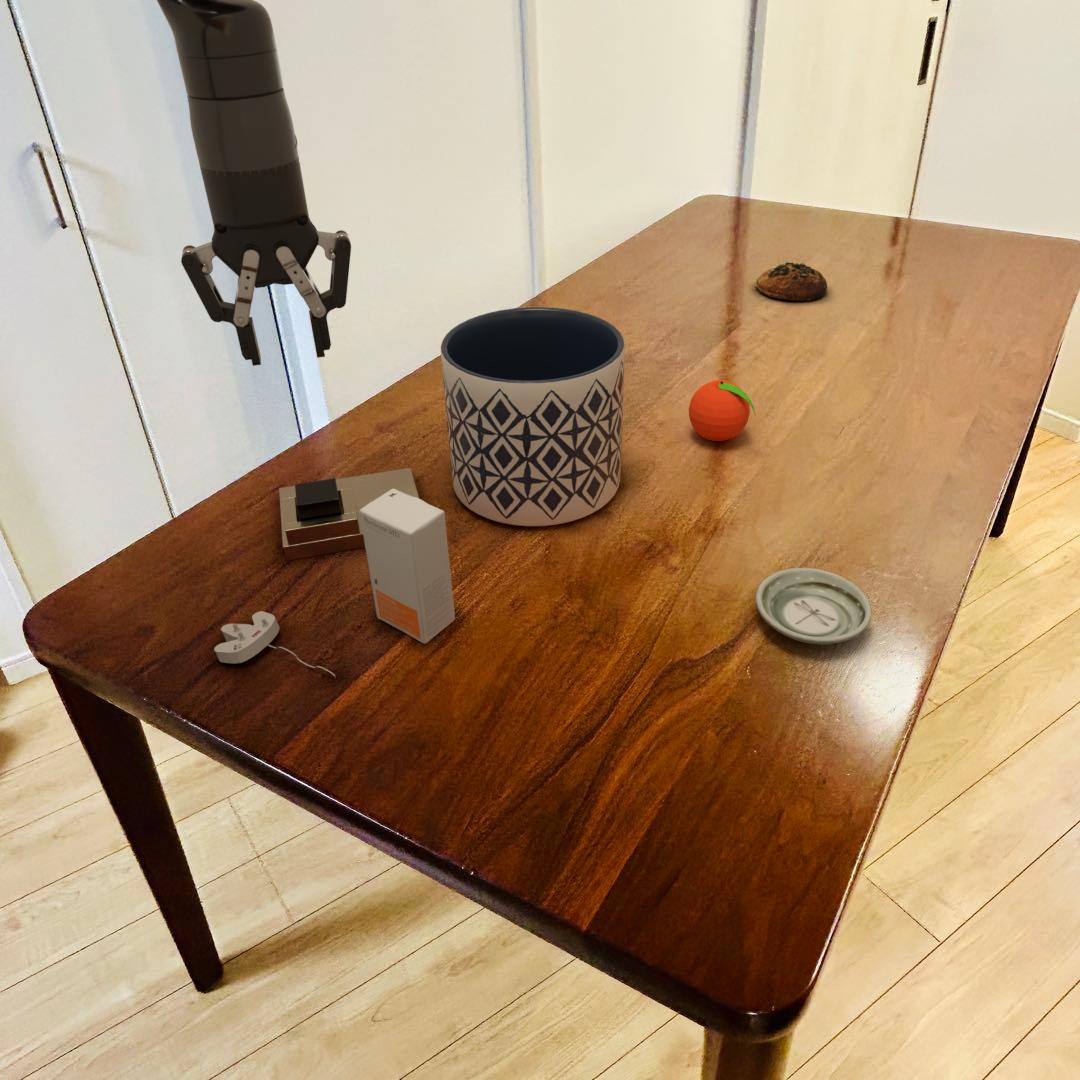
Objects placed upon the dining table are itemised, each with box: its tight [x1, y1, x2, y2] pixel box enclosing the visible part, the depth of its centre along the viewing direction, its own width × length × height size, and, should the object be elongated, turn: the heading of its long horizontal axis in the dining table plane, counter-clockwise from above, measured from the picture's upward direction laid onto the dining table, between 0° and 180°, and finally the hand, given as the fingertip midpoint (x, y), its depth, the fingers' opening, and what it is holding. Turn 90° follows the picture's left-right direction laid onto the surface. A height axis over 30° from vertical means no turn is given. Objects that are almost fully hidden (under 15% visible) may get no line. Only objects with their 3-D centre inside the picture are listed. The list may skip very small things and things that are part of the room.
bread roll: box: [754, 261, 828, 302], centre depth 141 cm, size 11×11×5 cm
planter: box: [440, 306, 626, 527], centre depth 93 cm, size 18×18×16 cm
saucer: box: [755, 567, 873, 645], centre depth 78 cm, size 10×10×2 cm
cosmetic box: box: [360, 489, 456, 645], centre depth 77 cm, size 6×4×12 cm
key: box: [294, 477, 342, 522], centre depth 89 cm, size 4×4×2 cm
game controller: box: [214, 610, 337, 679], centre depth 77 cm, size 6×12×3 cm, turn 80°
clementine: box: [688, 379, 756, 442], centre depth 103 cm, size 8×7×7 cm
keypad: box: [278, 467, 420, 562], centre depth 93 cm, size 14×11×4 cm
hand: (289, 357), depth 80 cm, fingers open, 5 cm apart
